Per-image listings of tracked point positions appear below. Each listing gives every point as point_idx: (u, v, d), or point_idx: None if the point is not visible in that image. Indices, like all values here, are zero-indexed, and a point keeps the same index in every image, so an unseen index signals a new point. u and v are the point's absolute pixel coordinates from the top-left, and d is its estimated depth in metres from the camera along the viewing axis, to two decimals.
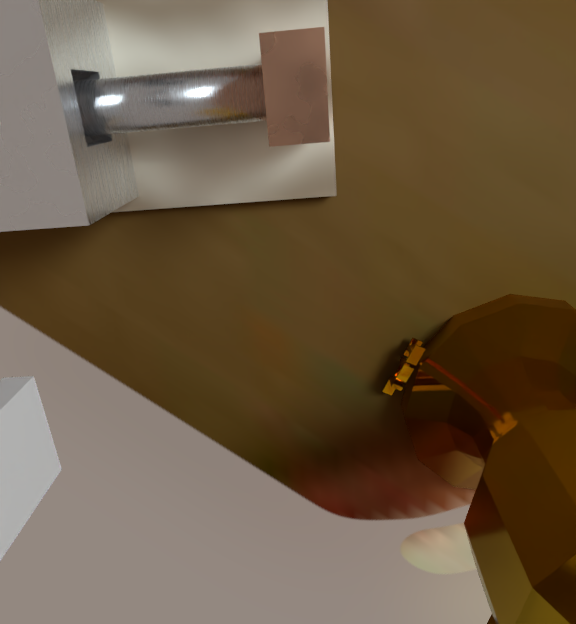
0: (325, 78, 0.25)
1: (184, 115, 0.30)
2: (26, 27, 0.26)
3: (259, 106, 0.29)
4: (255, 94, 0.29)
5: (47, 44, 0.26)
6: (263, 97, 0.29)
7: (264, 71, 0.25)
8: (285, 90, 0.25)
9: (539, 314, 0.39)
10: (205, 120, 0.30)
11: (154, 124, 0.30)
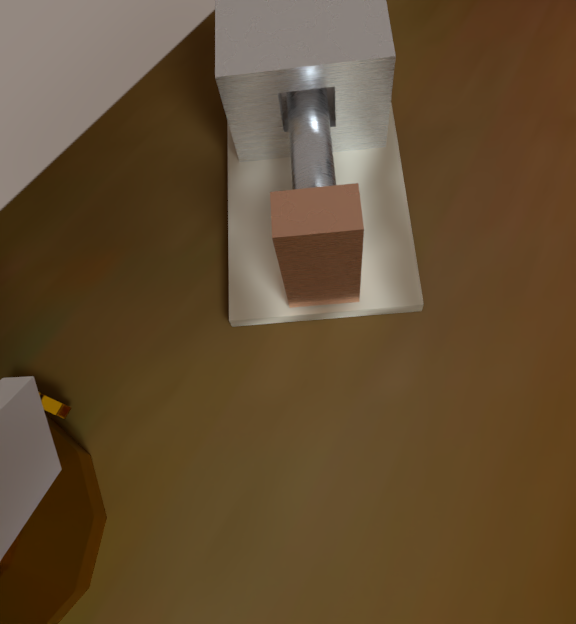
0: (324, 231, 0.29)
1: (300, 162, 0.36)
2: (360, 49, 0.35)
3: None
4: None
5: (349, 61, 0.35)
6: None
7: (329, 187, 0.30)
8: (315, 202, 0.29)
9: (75, 542, 0.33)
10: (296, 180, 0.35)
11: (294, 144, 0.37)
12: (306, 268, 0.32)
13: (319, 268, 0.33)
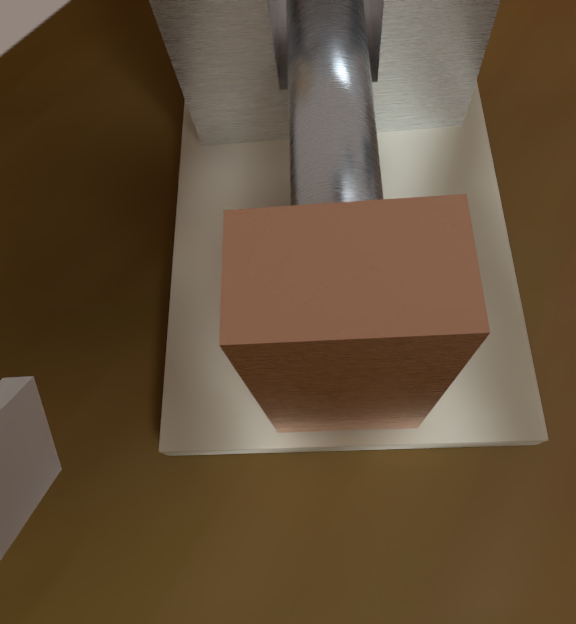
0: (370, 334, 0.10)
1: (308, 143, 0.17)
2: None
3: None
4: None
5: None
6: None
7: (386, 202, 0.11)
8: (346, 244, 0.11)
9: None
10: (297, 180, 0.17)
11: (296, 106, 0.18)
12: (314, 391, 0.14)
13: (344, 392, 0.14)
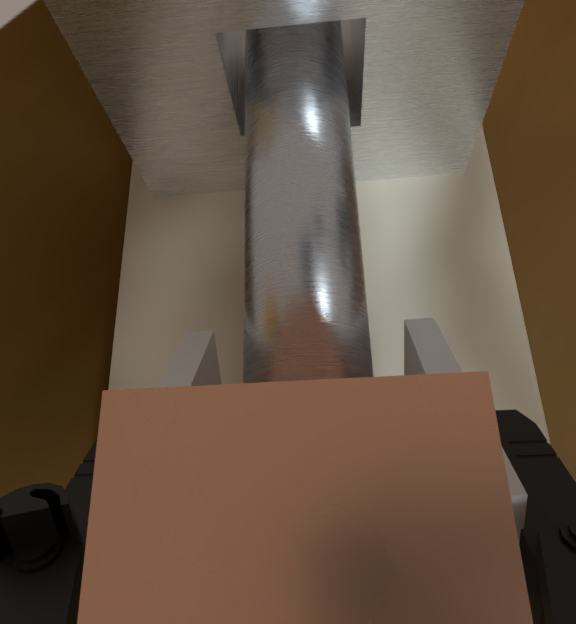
0: None
1: (265, 224, 0.13)
2: None
3: None
4: None
5: None
6: None
7: (359, 385, 0.07)
8: (292, 459, 0.06)
9: None
10: (251, 273, 0.12)
11: (252, 170, 0.14)
12: None
13: None
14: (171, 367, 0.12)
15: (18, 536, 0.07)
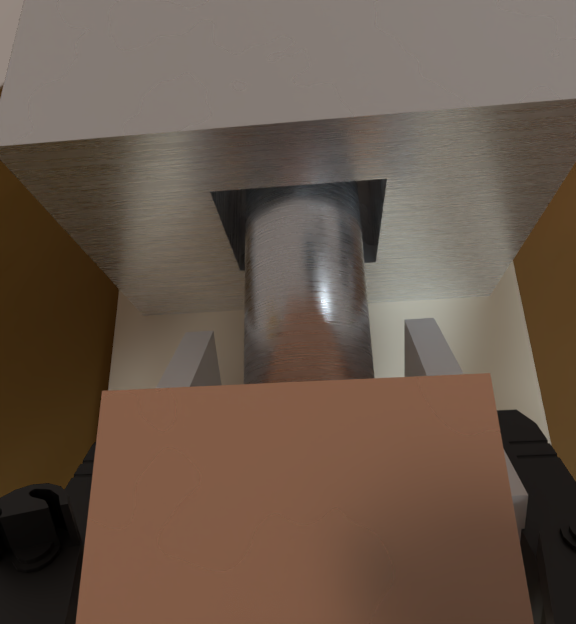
0: None
1: (266, 223, 0.12)
2: (488, 68, 0.10)
3: None
4: None
5: (451, 107, 0.10)
6: None
7: (360, 386, 0.07)
8: (292, 462, 0.06)
9: None
10: (252, 273, 0.12)
11: None
12: None
13: None
14: (171, 367, 0.12)
15: (17, 537, 0.07)
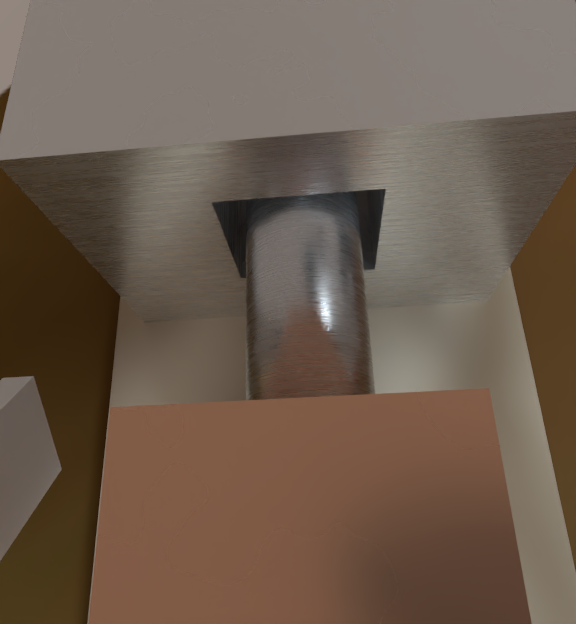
0: None
1: (267, 234, 0.13)
2: (484, 81, 0.10)
3: None
4: None
5: (448, 120, 0.10)
6: None
7: (363, 402, 0.07)
8: (298, 476, 0.07)
9: None
10: (253, 284, 0.13)
11: None
12: None
13: None
14: None
15: None
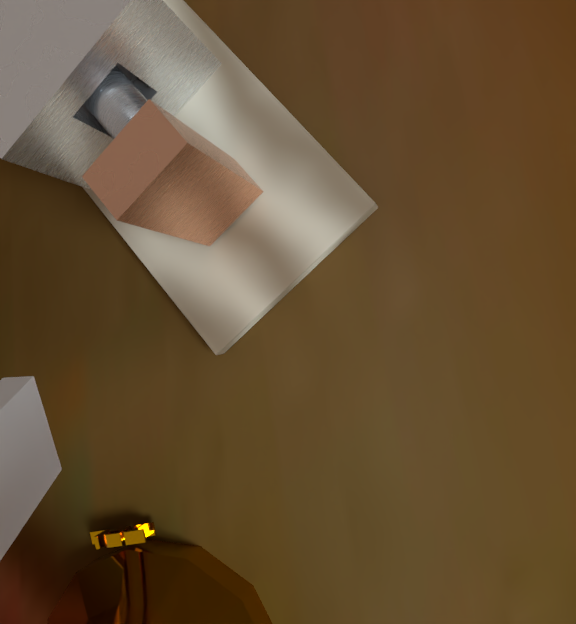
0: (155, 175, 0.24)
1: (99, 112, 0.30)
2: (107, 4, 0.27)
3: None
4: None
5: (106, 28, 0.27)
6: None
7: (127, 125, 0.25)
8: (126, 152, 0.25)
9: None
10: (110, 132, 0.30)
11: None
12: (181, 212, 0.29)
13: (192, 202, 0.29)
14: None
15: None
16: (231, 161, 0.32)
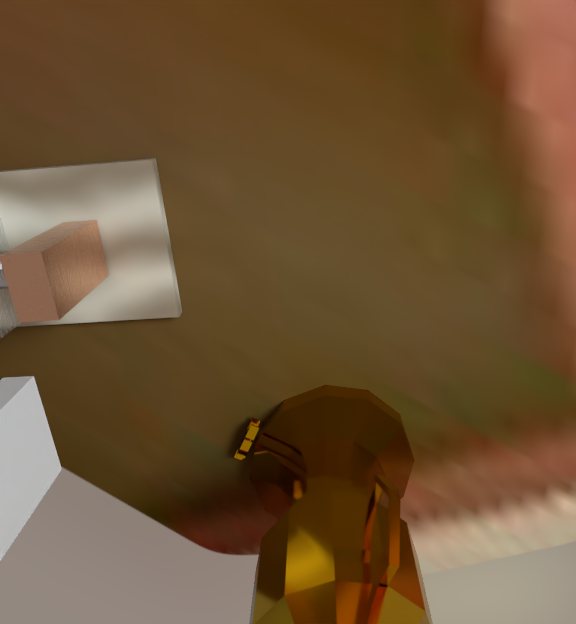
0: (48, 282, 0.37)
1: None
2: None
3: None
4: None
5: None
6: None
7: (6, 277, 0.37)
8: (22, 288, 0.37)
9: (341, 404, 0.50)
10: None
11: None
12: (77, 280, 0.41)
13: (75, 270, 0.41)
14: None
15: None
16: (64, 227, 0.43)
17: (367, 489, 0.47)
